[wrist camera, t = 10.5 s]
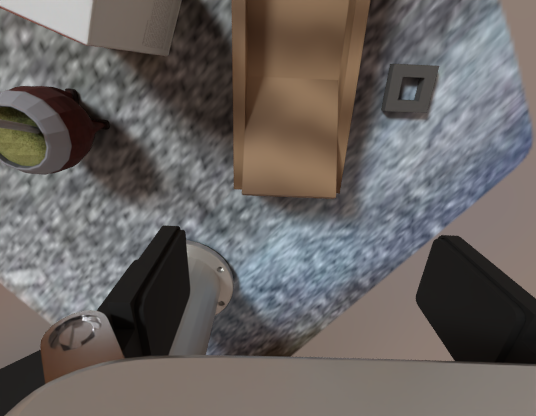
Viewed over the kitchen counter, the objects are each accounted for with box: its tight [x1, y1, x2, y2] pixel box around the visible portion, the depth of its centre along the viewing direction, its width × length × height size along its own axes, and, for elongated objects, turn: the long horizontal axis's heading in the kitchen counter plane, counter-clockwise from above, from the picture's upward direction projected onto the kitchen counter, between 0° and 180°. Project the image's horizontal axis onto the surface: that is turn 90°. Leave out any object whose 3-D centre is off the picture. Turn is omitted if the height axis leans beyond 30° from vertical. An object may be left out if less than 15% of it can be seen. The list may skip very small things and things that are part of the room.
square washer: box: [381, 64, 439, 113], centre depth 27 cm, size 4×4×1 cm
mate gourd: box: [0, 86, 110, 175], centre depth 22 cm, size 8×8×15 cm
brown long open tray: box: [232, 0, 370, 199], centre depth 22 cm, size 28×10×7 cm, turn 178°
